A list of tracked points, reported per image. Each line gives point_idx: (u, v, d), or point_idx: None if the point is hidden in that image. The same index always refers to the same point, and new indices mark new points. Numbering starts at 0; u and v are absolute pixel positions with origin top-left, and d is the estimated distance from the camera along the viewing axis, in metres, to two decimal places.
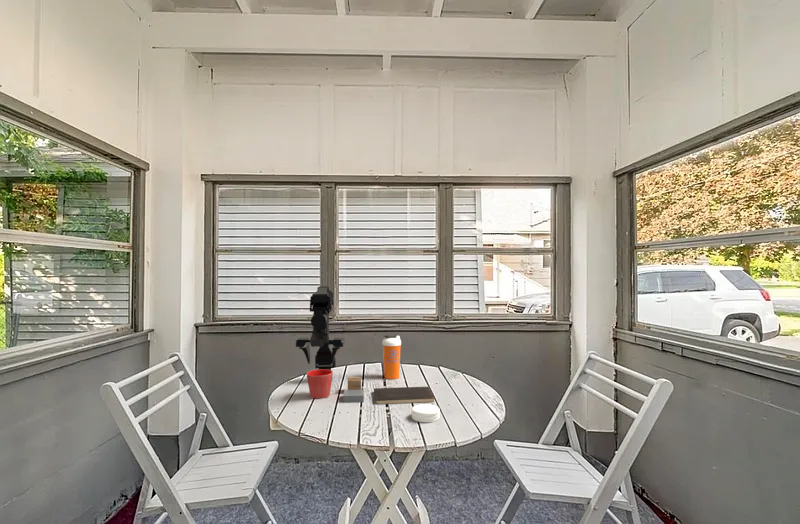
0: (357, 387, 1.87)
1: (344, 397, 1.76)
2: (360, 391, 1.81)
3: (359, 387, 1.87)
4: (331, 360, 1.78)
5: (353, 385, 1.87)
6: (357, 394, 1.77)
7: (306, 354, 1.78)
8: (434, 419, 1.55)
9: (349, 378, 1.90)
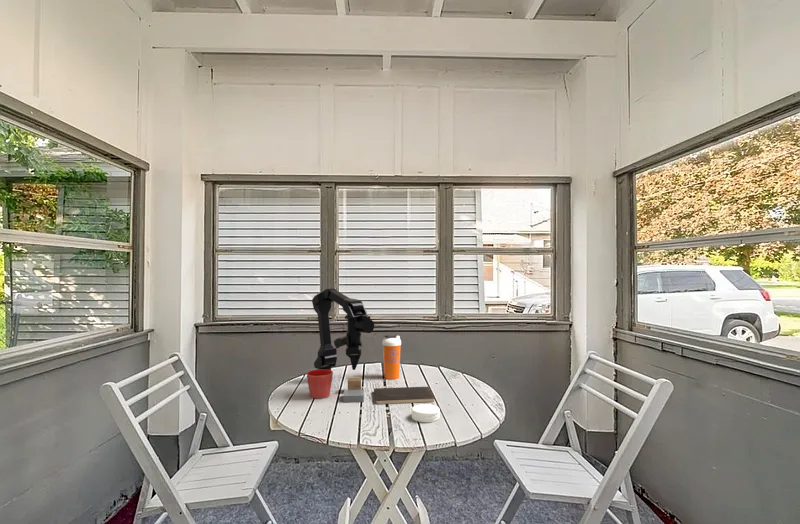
0: (357, 387, 1.87)
1: (344, 397, 1.76)
2: (360, 391, 1.81)
3: (359, 387, 1.87)
4: None
5: (353, 385, 1.87)
6: (357, 394, 1.77)
7: None
8: (434, 419, 1.55)
9: (349, 378, 1.90)
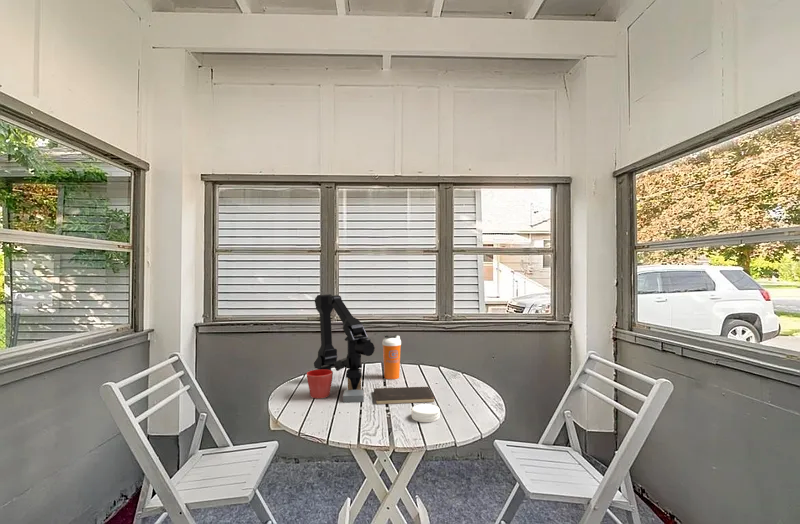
0: (357, 386, 1.87)
1: (344, 397, 1.76)
2: (360, 391, 1.81)
3: (359, 387, 1.87)
4: (352, 387, 1.87)
5: None
6: (357, 394, 1.77)
7: None
8: (434, 419, 1.55)
9: None
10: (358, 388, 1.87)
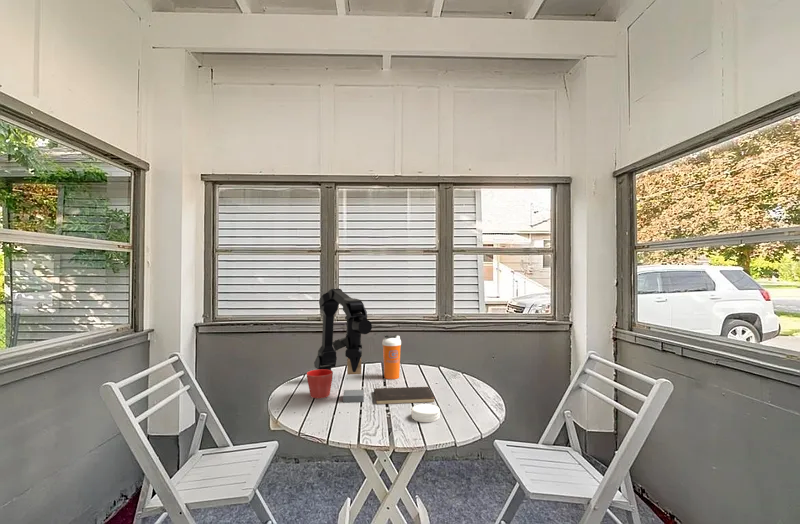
0: (358, 367, 1.78)
1: (344, 397, 1.76)
2: (360, 391, 1.81)
3: (359, 367, 1.78)
4: (352, 368, 1.77)
5: None
6: (357, 394, 1.77)
7: None
8: (434, 419, 1.55)
9: None
10: (358, 369, 1.78)
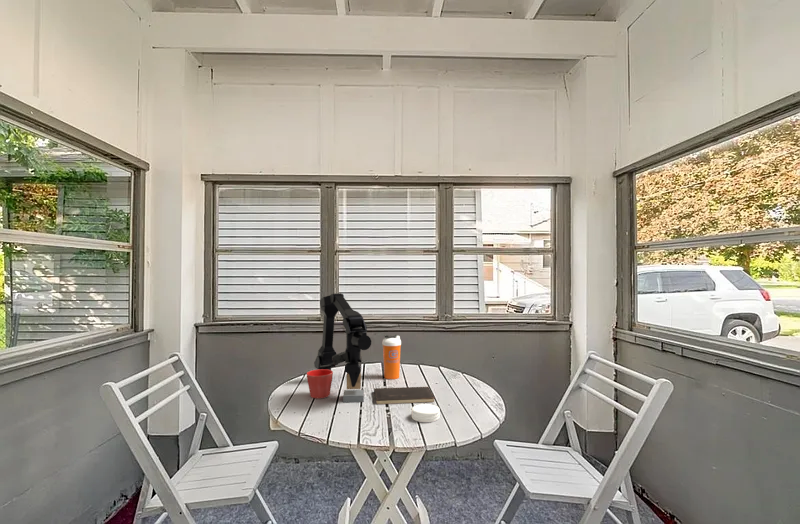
0: (357, 382, 1.77)
1: (344, 397, 1.76)
2: (360, 391, 1.81)
3: (359, 382, 1.77)
4: (351, 382, 1.77)
5: None
6: (357, 394, 1.77)
7: None
8: (434, 419, 1.55)
9: None
10: (358, 383, 1.77)
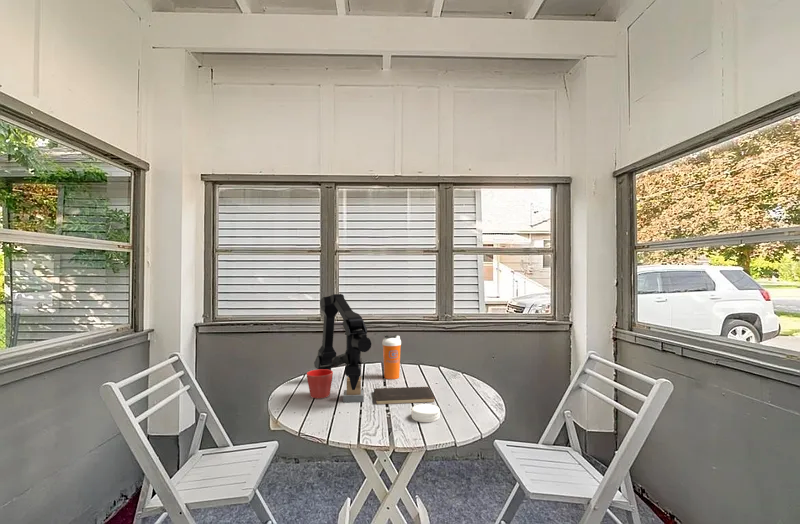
0: (357, 387, 1.77)
1: (344, 397, 1.76)
2: None
3: (359, 388, 1.77)
4: (351, 385, 1.75)
5: None
6: None
7: None
8: (434, 419, 1.55)
9: (348, 378, 1.80)
10: (358, 389, 1.77)
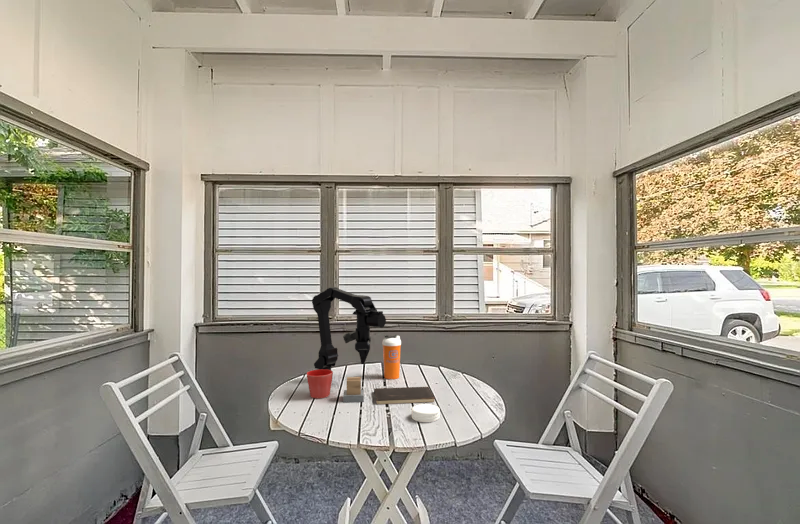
0: (357, 387, 1.77)
1: (344, 397, 1.76)
2: None
3: (359, 388, 1.77)
4: None
5: (352, 386, 1.77)
6: None
7: None
8: (434, 419, 1.55)
9: (348, 378, 1.80)
10: (358, 389, 1.77)
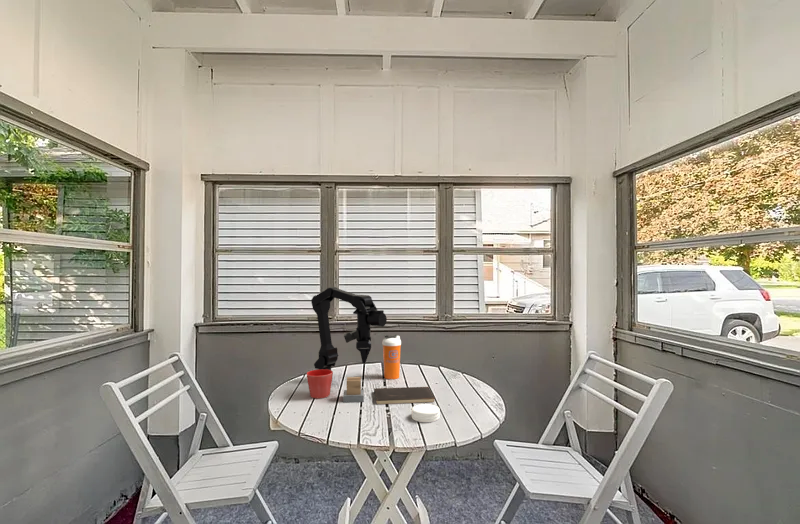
0: (357, 387, 1.77)
1: (344, 397, 1.76)
2: None
3: (359, 388, 1.77)
4: None
5: (352, 386, 1.77)
6: None
7: None
8: (434, 419, 1.55)
9: (348, 378, 1.80)
10: (358, 389, 1.77)
